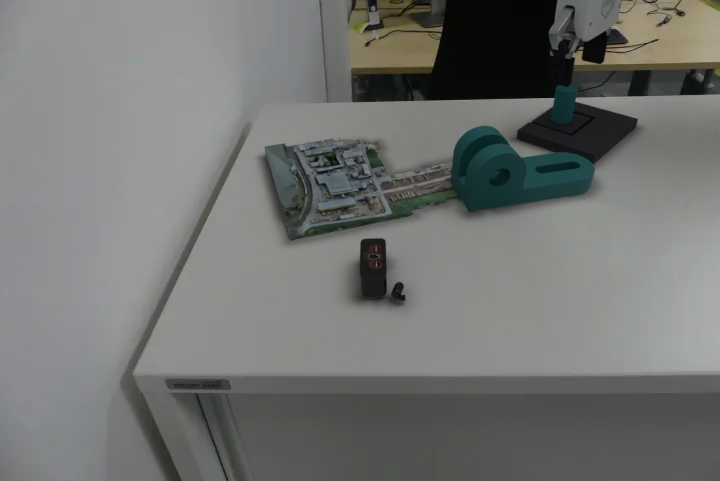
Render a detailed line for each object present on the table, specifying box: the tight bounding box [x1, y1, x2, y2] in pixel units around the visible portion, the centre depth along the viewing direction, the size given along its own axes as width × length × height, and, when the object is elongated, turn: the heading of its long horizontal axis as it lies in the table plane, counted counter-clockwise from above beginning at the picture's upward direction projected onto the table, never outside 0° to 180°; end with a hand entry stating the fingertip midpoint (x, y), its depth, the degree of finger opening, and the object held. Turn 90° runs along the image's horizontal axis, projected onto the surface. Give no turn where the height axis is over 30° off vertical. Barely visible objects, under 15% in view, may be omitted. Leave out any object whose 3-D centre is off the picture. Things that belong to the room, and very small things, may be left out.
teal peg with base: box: [530, 84, 591, 136], centre depth 84 cm, size 6×6×6 cm
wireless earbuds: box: [359, 237, 407, 302], centre depth 60 cm, size 5×7×3 cm, turn 179°
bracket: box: [450, 125, 596, 213], centre depth 71 cm, size 18×7×8 cm, turn 103°
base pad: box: [516, 101, 639, 165], centre depth 84 cm, size 14×12×2 cm
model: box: [264, 137, 461, 241], centre depth 78 cm, size 21×30×2 cm
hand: (576, 72), depth 80 cm, fingers open, 9 cm apart
